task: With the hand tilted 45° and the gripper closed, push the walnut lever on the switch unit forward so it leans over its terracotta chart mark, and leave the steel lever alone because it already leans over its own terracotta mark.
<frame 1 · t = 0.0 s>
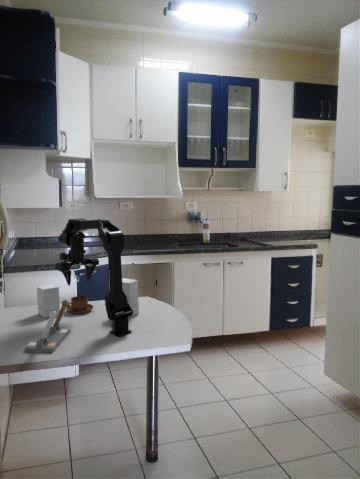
hand: (78, 283, 179), 15 cm above the table, tool pointing down, fingers open, 9 cm apart
skincare box: (127, 314, 184), on the table
steel lever: (48, 326, 146), point 8 cm above the table, hinge at -25.0°
supplement box: (48, 314, 184), on the table
walnut lever: (60, 314, 158), point 8 cm above the table, hinge at -25.0°
switch unit: (49, 341, 153), on the table
cup and saucer: (79, 311, 188), on the table
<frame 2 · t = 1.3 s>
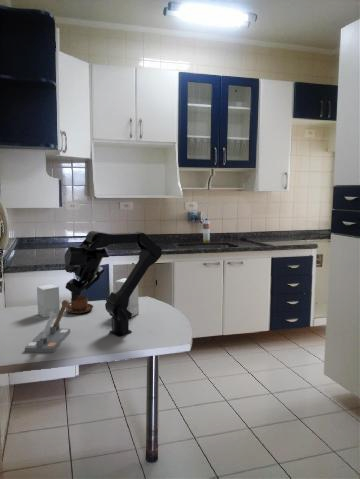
hand: (79, 294, 160), 15 cm above the table, tool tilted 30°, fingers open, 9 cm apart
nothing on the table moved.
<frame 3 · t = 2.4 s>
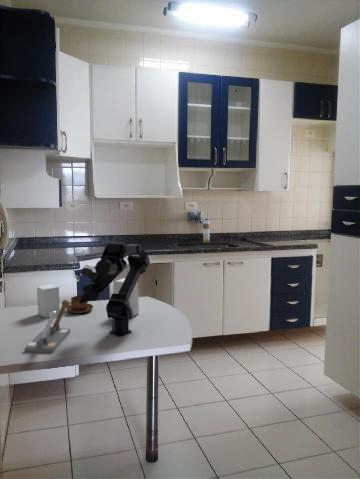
hand: (81, 301, 157), 14 cm above the table, tool tilted 45°, fingers open, 3 cm apart
nothing on the table moved.
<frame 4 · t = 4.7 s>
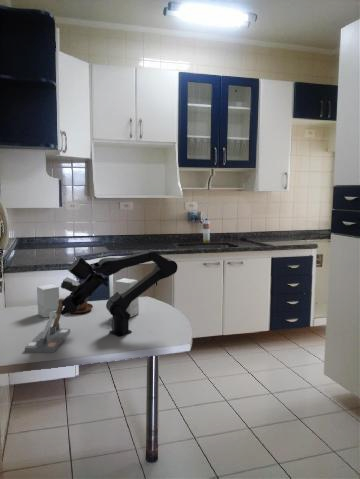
hand: (61, 313, 158), 9 cm above the table, tool tilted 45°, fingers closed, pressing on walnut lever
walnut lever: (58, 313, 158), point 8 cm above the table, hinge at -17.4°, touching gripper
everything else where it was.
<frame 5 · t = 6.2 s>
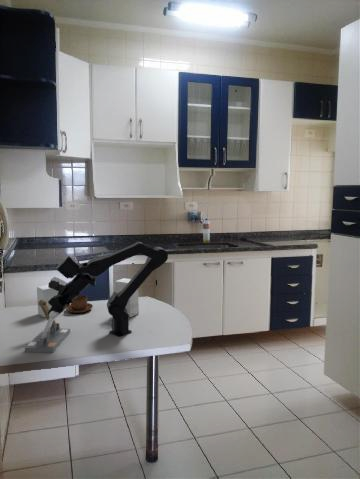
hand: (49, 313, 158), 9 cm above the table, tool tilted 45°, fingers closed, pressing on walnut lever
walnut lever: (48, 314, 159), point 8 cm above the table, hinge at 24.9°, touching gripper
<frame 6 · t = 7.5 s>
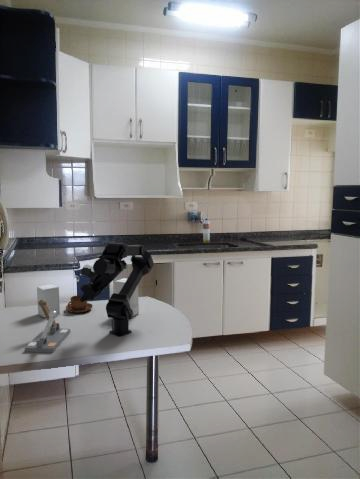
hand: (80, 301, 158), 14 cm above the table, tool tilted 45°, fingers closed
walnut lever: (48, 314, 159), point 8 cm above the table, hinge at 24.9°
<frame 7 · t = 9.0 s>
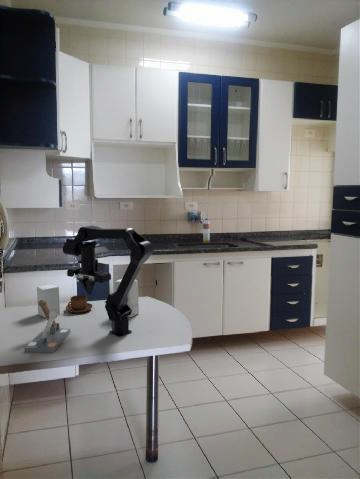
hand: (89, 294, 168), 13 cm above the table, tool pointing down, fingers closed
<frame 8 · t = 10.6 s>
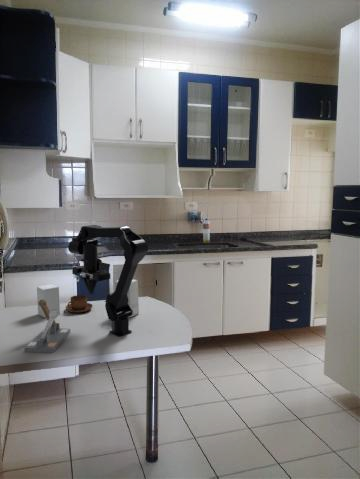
hand: (91, 293, 170), 13 cm above the table, tool pointing down, fingers closed
at the end: walnut lever at +25° (first picture: -25°); steel lever at -25° (first picture: -25°) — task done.
